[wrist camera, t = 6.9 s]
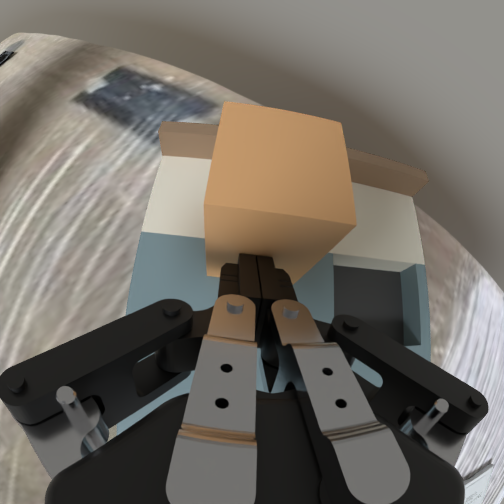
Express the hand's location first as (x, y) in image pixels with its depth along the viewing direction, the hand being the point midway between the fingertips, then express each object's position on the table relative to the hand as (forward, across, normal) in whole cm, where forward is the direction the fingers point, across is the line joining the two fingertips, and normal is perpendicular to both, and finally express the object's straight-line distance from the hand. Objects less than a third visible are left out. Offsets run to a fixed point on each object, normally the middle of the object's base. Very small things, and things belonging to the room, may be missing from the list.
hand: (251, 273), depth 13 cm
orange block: (+4, 0, 0) cm, 5 cm away
